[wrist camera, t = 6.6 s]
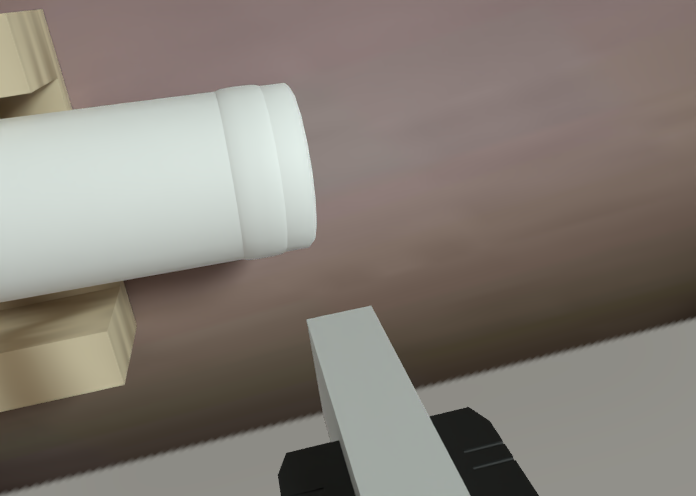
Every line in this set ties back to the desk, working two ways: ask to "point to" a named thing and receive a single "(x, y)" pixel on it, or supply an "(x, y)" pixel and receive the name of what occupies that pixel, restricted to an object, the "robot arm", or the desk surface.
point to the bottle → (152, 188)
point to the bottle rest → (61, 307)
